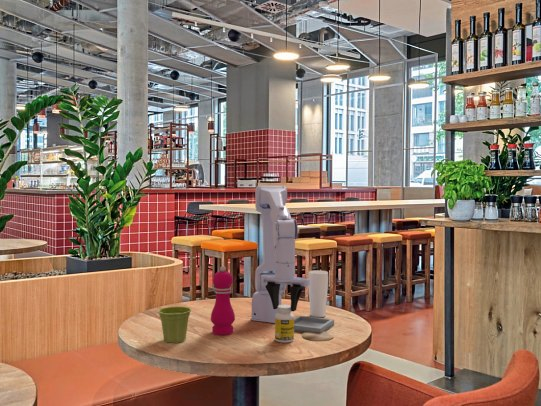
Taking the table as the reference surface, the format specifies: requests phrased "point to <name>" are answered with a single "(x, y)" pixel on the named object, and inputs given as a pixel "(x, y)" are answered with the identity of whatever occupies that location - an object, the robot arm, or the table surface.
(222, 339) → the table surface
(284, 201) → the robot arm
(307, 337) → the cork coaster
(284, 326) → the supplement bottle
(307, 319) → the tray
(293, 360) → the table surface
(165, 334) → the plant pot
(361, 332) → the table surface
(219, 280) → the pepper mill
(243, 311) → the table surface
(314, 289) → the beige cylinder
